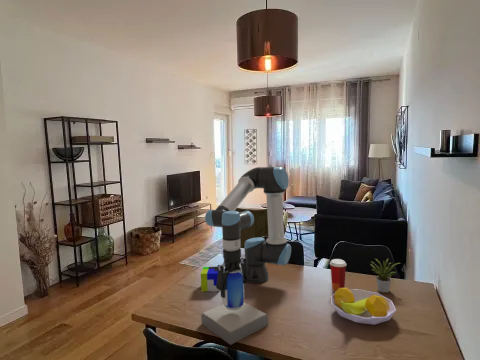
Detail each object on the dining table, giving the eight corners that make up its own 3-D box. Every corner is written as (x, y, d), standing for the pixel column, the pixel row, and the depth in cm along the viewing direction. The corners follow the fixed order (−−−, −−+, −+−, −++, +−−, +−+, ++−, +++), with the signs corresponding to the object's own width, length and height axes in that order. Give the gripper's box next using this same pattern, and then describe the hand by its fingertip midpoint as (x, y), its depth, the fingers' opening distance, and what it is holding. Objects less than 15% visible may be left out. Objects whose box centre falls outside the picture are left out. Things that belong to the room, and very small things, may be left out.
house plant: (394, 284, 166) (395, 254, 165) (405, 296, 153) (406, 263, 151) (367, 283, 168) (367, 254, 166) (375, 295, 154) (376, 263, 153)
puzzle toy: (220, 291, 164) (219, 273, 163) (201, 292, 164) (200, 273, 163) (221, 283, 174) (221, 266, 173) (203, 284, 174) (203, 266, 173)
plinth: (237, 308, 146) (237, 297, 146) (267, 325, 131) (267, 313, 130) (201, 323, 133) (201, 312, 133) (230, 345, 118) (230, 332, 117)
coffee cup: (344, 286, 166) (344, 258, 165) (348, 292, 158) (348, 264, 157) (328, 285, 167) (328, 258, 166) (331, 292, 159) (331, 264, 157)
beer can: (226, 312, 126) (225, 274, 125) (222, 303, 134) (220, 267, 133) (246, 309, 128) (245, 271, 127) (240, 300, 136) (239, 264, 135)
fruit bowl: (362, 296, 154) (362, 274, 153) (410, 323, 128) (410, 297, 128) (314, 308, 144) (314, 284, 143) (356, 340, 118) (356, 311, 118)
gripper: (216, 256, 119) (218, 312, 121) (256, 244, 133) (257, 295, 135) (205, 252, 125) (207, 306, 127) (245, 241, 139) (246, 290, 141)
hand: (233, 300), depth 131 cm, fingers closed on beer can, 8 cm apart
